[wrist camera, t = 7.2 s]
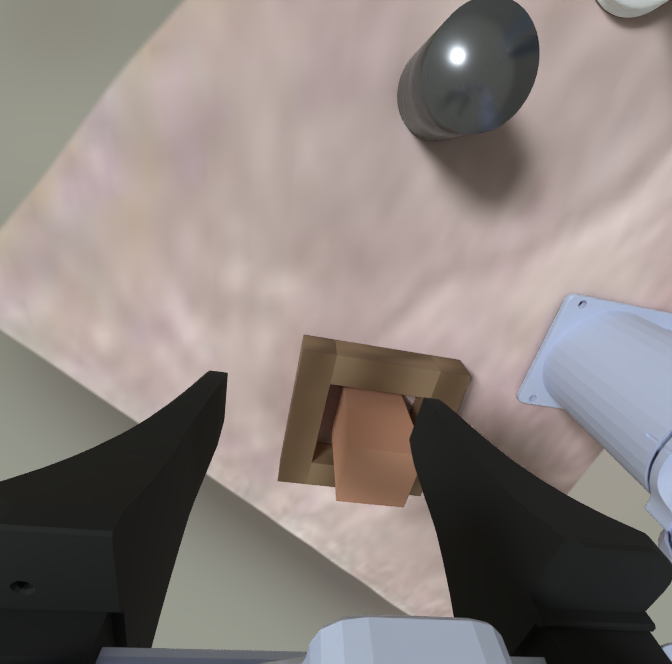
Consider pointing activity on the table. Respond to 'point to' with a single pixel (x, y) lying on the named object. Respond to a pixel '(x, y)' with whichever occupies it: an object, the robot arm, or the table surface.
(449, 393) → the walnut collar
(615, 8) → the chess piece
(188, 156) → the table surface
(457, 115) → the metal cylinder
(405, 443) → the terracotta block
